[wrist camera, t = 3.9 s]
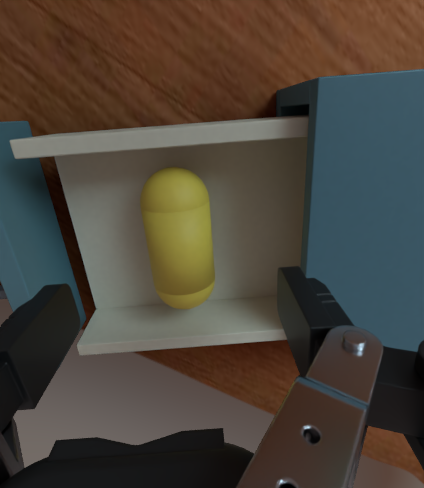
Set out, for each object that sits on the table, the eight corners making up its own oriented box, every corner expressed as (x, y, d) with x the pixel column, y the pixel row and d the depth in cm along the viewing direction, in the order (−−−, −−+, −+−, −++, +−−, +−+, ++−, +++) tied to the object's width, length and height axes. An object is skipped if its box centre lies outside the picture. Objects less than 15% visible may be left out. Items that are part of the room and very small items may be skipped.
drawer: (12, 324, 22) (-37, 378, 17) (-71, 128, 16) (-173, 133, 12) (321, 300, 22) (351, 348, 17) (340, 96, 16) (391, 90, 12)
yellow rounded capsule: (215, 285, 20) (218, 320, 16) (162, 290, 20) (154, 325, 16) (206, 159, 16) (207, 170, 13) (141, 164, 16) (126, 177, 13)
